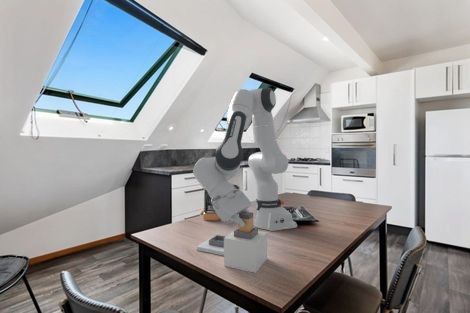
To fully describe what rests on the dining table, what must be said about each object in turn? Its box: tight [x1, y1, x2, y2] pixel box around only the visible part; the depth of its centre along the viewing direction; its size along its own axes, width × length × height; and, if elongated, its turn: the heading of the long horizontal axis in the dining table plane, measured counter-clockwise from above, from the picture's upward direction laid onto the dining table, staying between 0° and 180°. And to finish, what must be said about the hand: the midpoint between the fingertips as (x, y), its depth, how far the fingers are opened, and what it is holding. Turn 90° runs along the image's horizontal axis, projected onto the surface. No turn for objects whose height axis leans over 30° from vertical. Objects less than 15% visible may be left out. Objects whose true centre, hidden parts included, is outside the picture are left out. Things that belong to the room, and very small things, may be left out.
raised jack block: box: [223, 227, 268, 274], centre depth 93 cm, size 12×12×12 cm
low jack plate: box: [196, 234, 227, 257], centre depth 108 cm, size 14×14×4 cm
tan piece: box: [238, 211, 254, 233], centre depth 93 cm, size 4×4×8 cm
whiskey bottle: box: [202, 188, 222, 222], centre depth 150 cm, size 10×10×32 cm
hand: (247, 222), depth 93 cm, fingers open, 5 cm apart
